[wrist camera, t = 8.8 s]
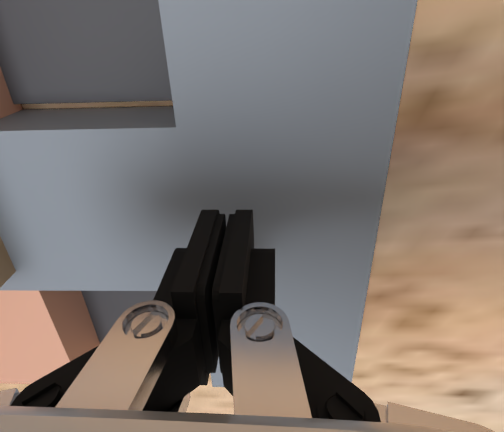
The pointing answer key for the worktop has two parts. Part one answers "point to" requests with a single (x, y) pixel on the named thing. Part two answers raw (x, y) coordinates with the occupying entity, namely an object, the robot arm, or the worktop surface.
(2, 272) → the maple block
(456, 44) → the worktop surface
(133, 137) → the trap board
